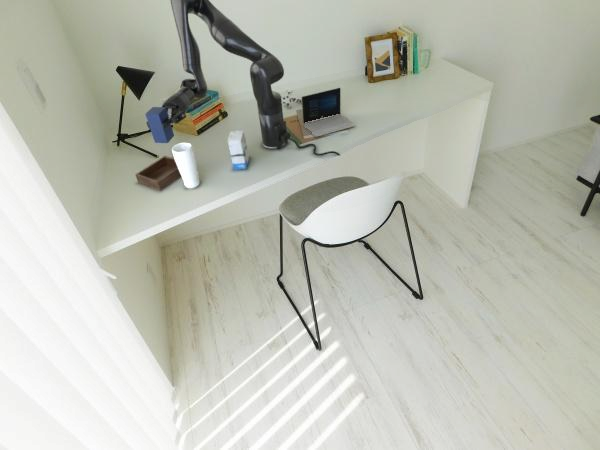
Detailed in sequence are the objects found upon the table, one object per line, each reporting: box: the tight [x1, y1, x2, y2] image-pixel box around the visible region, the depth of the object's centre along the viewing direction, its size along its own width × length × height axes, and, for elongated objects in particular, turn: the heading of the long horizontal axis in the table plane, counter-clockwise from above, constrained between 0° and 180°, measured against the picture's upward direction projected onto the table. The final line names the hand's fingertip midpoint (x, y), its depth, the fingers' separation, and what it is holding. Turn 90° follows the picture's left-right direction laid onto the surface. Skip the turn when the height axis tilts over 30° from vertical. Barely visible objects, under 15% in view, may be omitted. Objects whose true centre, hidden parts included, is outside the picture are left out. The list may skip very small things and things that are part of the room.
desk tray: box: [134, 155, 182, 192], centre depth 145 cm, size 12×15×4 cm
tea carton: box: [145, 106, 175, 144], centre depth 140 cm, size 5×6×11 cm
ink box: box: [227, 130, 250, 171], centre depth 146 cm, size 9×5×12 cm, turn 178°
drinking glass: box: [171, 142, 201, 189], centre depth 136 cm, size 7×7×15 cm
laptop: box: [301, 87, 355, 138], centre depth 164 cm, size 18×12×13 cm
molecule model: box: [281, 89, 302, 109], centre depth 186 cm, size 6×12×8 cm, turn 128°
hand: (155, 125), depth 137 cm, fingers closed on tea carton, 5 cm apart
